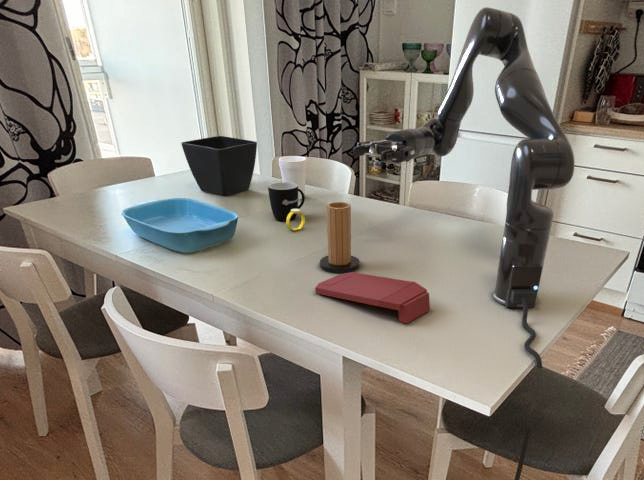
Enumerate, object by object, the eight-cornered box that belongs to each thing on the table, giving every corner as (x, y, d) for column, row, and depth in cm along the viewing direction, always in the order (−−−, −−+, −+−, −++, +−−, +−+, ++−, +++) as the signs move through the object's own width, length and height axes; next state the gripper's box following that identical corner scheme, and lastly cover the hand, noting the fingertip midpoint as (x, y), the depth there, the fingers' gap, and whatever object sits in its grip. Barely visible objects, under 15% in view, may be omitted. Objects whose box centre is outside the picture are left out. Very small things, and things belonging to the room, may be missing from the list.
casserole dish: (113, 231, 150) (107, 207, 146) (181, 215, 164) (177, 192, 161) (185, 264, 130) (180, 236, 126) (256, 242, 144) (253, 216, 140)
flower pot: (262, 188, 193) (258, 140, 184) (225, 200, 179) (219, 148, 170) (226, 181, 201) (219, 135, 192) (188, 192, 188) (179, 142, 179)
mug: (281, 224, 158) (278, 190, 152) (265, 217, 163) (262, 185, 158) (313, 217, 164) (311, 184, 159) (296, 211, 170) (295, 179, 165)
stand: (360, 273, 127) (360, 224, 120) (319, 273, 126) (317, 224, 120) (359, 258, 135) (359, 211, 129) (320, 258, 135) (318, 211, 128)
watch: (290, 233, 151) (289, 213, 148) (285, 231, 153) (283, 210, 150) (307, 228, 155) (306, 208, 152) (301, 226, 156) (300, 206, 153)
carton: (314, 307, 119) (400, 327, 103) (311, 286, 116) (399, 303, 101) (349, 290, 126) (435, 306, 111) (347, 271, 124) (434, 284, 109)
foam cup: (278, 195, 186) (275, 157, 179) (303, 192, 189) (301, 155, 182) (286, 202, 179) (283, 162, 172) (311, 199, 182) (310, 160, 175)
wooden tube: (351, 265, 128) (350, 208, 120) (328, 265, 128) (326, 208, 120) (350, 256, 133) (350, 201, 125) (328, 256, 132) (327, 201, 125)
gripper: (383, 126, 137) (344, 134, 126) (429, 132, 130) (392, 141, 119) (383, 156, 141) (345, 166, 130) (427, 164, 134) (391, 175, 123)
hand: (367, 154), depth 125 cm, fingers open, 8 cm apart
